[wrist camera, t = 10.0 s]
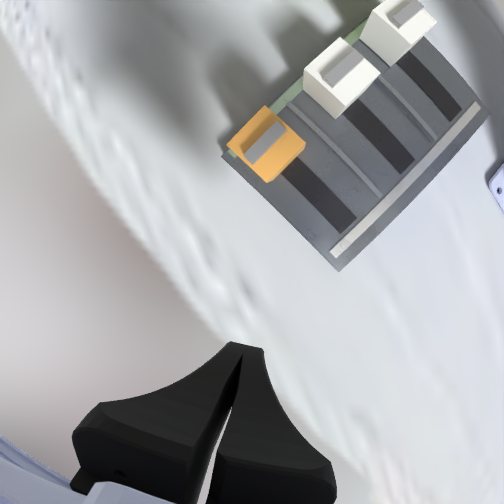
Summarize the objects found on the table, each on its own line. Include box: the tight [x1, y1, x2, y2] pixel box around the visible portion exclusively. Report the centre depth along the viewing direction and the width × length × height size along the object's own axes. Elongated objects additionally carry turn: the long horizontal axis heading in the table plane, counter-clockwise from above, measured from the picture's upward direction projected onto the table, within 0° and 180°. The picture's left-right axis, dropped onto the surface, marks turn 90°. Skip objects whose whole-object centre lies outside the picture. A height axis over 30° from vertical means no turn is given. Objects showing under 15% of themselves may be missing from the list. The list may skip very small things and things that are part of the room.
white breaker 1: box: [303, 37, 380, 119], centre depth 14 cm, size 3×3×4 cm
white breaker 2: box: [359, 0, 437, 67], centre depth 13 cm, size 3×3×4 cm
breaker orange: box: [226, 105, 306, 183], centre depth 16 cm, size 3×3×4 cm
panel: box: [221, 17, 490, 272], centre depth 17 cm, size 10×15×2 cm, turn 136°
